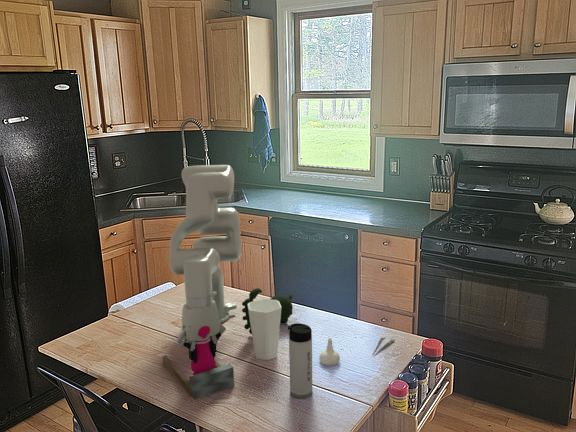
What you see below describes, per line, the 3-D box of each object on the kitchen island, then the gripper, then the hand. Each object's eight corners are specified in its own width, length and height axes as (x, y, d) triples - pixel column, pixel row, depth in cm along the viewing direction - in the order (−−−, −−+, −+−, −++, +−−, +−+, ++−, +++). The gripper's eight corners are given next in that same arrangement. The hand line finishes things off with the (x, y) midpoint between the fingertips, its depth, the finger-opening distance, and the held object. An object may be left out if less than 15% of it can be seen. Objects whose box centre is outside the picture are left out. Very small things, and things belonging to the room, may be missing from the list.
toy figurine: (260, 349, 171) (303, 318, 189) (254, 298, 165) (300, 271, 184) (239, 342, 177) (283, 312, 195) (233, 292, 171) (279, 266, 190)
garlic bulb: (325, 370, 155) (327, 347, 153) (315, 359, 160) (316, 337, 158) (343, 364, 158) (344, 342, 156) (332, 354, 163) (333, 332, 161)
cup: (287, 350, 167) (286, 301, 163) (276, 365, 157) (275, 313, 154) (255, 345, 170) (254, 297, 167) (243, 359, 161) (241, 309, 157)
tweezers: (381, 339, 174) (381, 333, 174) (395, 342, 172) (395, 336, 171) (361, 365, 160) (361, 359, 160) (375, 368, 158) (375, 363, 157)
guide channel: (199, 352, 166) (198, 335, 165) (234, 385, 147) (233, 367, 145) (163, 363, 160) (161, 345, 159) (193, 400, 140) (192, 380, 139)
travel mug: (288, 386, 146) (286, 321, 141) (310, 385, 146) (310, 320, 142) (289, 399, 139) (288, 331, 135) (313, 397, 140) (313, 330, 135)
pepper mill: (211, 386, 144) (207, 320, 140) (187, 383, 146) (182, 319, 141) (220, 372, 151) (216, 310, 147) (197, 370, 153) (192, 308, 148)
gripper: (221, 288, 151) (224, 345, 155) (165, 302, 142) (170, 361, 146) (232, 296, 144) (235, 355, 149) (175, 311, 135) (180, 372, 140)
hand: (203, 357), depth 147 cm, fingers closed on pepper mill, 5 cm apart
